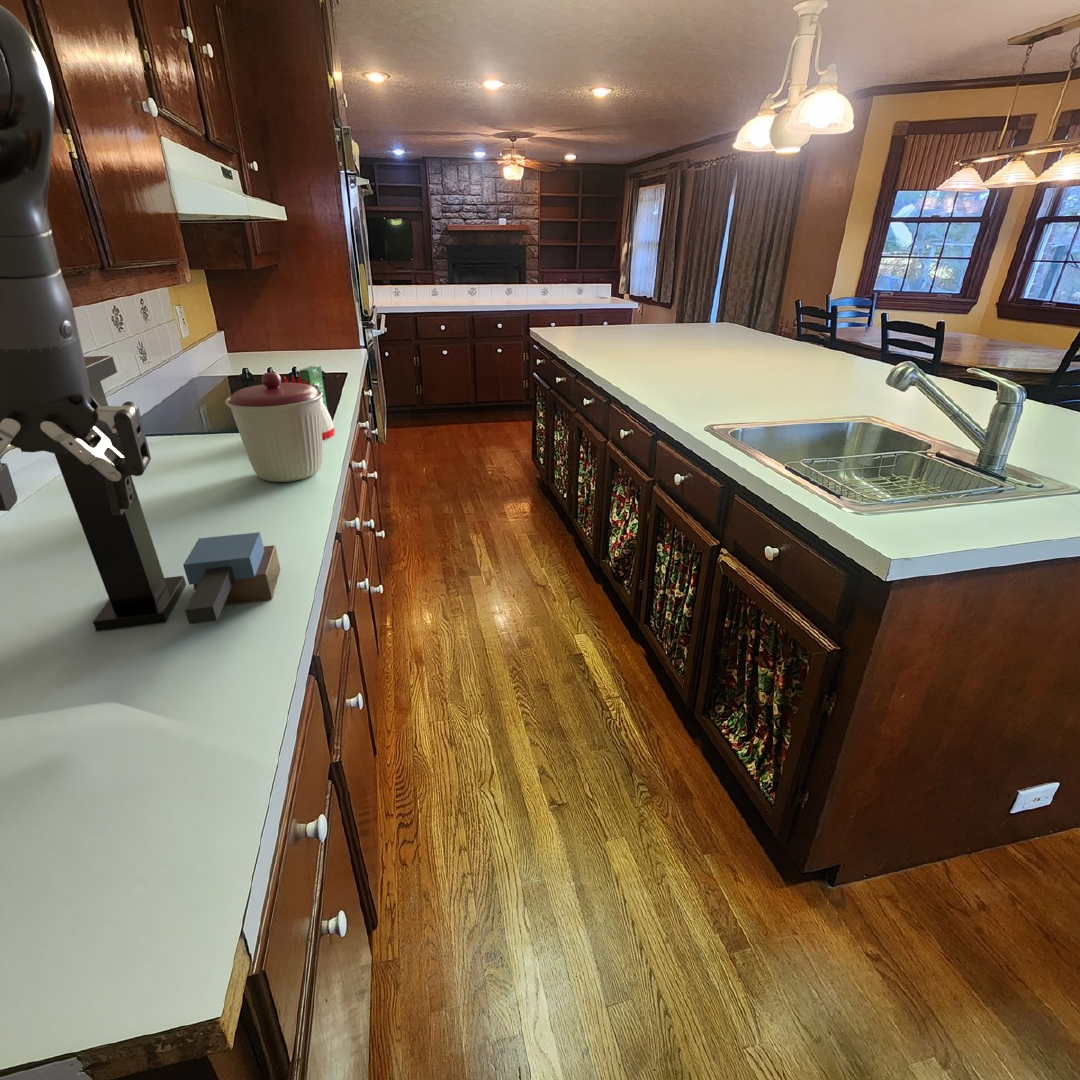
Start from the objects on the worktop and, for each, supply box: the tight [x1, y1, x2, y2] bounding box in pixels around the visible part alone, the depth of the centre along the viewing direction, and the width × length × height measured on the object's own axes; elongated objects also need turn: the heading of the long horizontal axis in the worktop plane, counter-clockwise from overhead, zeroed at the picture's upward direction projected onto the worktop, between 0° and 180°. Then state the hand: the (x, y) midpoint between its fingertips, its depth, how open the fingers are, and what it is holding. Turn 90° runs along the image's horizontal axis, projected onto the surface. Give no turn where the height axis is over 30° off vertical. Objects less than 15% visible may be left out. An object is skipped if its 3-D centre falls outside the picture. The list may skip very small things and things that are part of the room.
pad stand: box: [54, 355, 187, 632], centre depth 74 cm, size 8×10×32 cm
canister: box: [224, 371, 324, 483], centre depth 123 cm, size 18×18×21 cm
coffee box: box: [298, 365, 328, 409], centre depth 170 cm, size 8×3×13 cm, turn 173°
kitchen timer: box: [283, 374, 336, 441], centre depth 151 cm, size 14×14×15 cm
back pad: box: [182, 531, 264, 625], centre depth 78 cm, size 8×18×3 cm, turn 14°
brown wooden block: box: [192, 544, 281, 606], centre depth 85 cm, size 9×9×4 cm
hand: (65, 508), depth 55 cm, fingers open, 8 cm apart
